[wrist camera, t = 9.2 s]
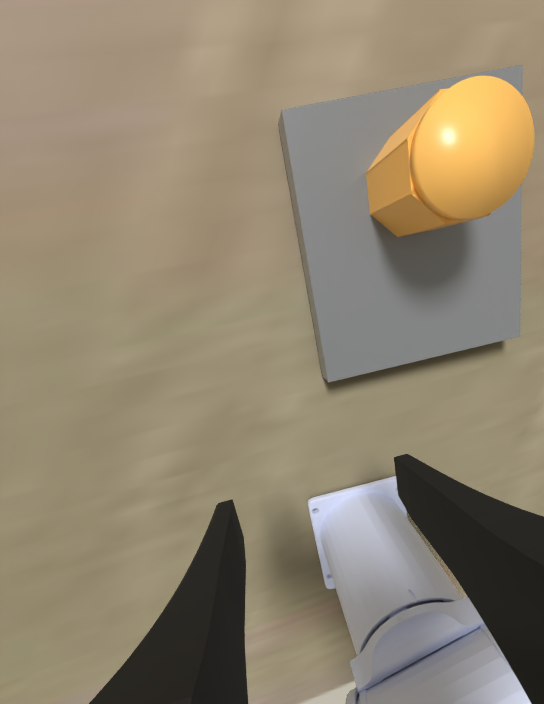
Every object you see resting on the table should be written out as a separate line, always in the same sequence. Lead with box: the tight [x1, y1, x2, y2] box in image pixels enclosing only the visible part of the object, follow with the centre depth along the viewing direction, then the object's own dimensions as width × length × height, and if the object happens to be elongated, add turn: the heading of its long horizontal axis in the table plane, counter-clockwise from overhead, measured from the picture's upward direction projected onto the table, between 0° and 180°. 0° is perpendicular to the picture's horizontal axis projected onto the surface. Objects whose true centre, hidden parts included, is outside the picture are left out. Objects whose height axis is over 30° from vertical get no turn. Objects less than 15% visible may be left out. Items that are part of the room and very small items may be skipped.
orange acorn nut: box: [366, 76, 534, 237], centre depth 15 cm, size 5×5×5 cm
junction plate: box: [278, 65, 523, 382], centre depth 18 cm, size 16×14×4 cm
